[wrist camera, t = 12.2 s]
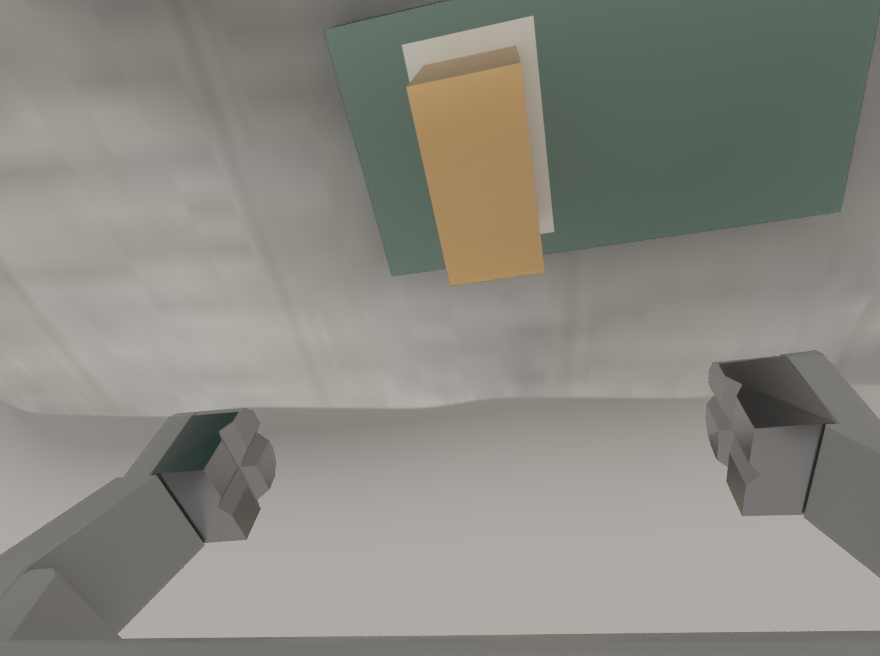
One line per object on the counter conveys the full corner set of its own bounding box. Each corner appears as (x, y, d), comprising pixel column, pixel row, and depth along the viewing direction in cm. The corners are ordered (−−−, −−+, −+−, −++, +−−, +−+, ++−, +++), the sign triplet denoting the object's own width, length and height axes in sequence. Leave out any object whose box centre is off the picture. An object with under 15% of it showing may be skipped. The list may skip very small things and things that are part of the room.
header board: (878, -102, 20) (966, -119, 17) (824, 200, 27) (879, 238, 23) (332, 27, 24) (301, 37, 21) (396, 264, 31) (382, 305, 27)
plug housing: (515, 45, 23) (520, 62, 18) (536, 222, 27) (544, 272, 22) (423, 65, 24) (405, 87, 19) (457, 234, 28) (450, 285, 23)
